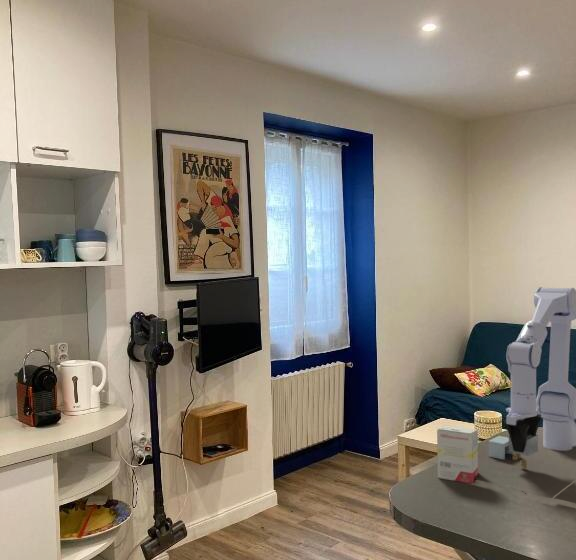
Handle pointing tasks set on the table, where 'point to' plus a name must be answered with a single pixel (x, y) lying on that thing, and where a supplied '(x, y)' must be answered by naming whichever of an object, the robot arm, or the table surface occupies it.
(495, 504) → the table surface
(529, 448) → the block
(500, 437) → the block
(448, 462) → the ink box
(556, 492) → the table surface
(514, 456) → the plate
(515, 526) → the table surface
